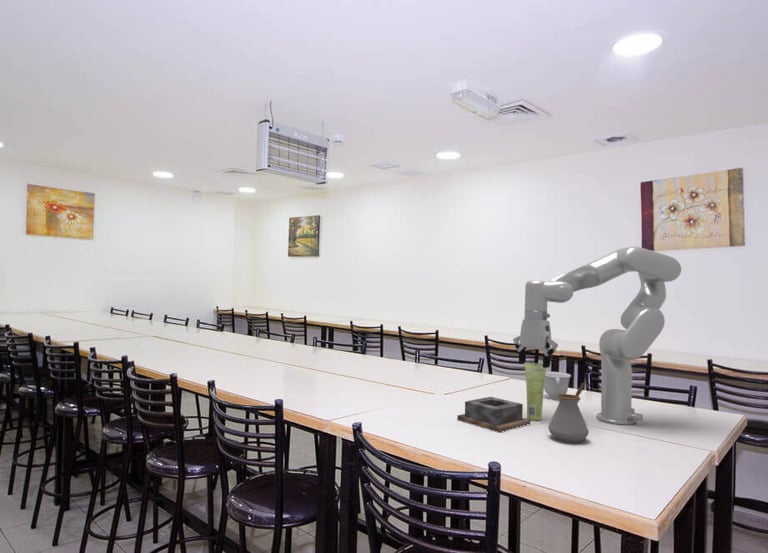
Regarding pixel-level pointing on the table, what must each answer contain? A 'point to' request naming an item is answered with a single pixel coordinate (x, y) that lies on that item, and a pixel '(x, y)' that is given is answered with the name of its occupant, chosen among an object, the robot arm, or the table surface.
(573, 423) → the coffee pot
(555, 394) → the teacup
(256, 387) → the table surface
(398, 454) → the table surface
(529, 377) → the tube
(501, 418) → the socket board
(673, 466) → the table surface
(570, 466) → the table surface
